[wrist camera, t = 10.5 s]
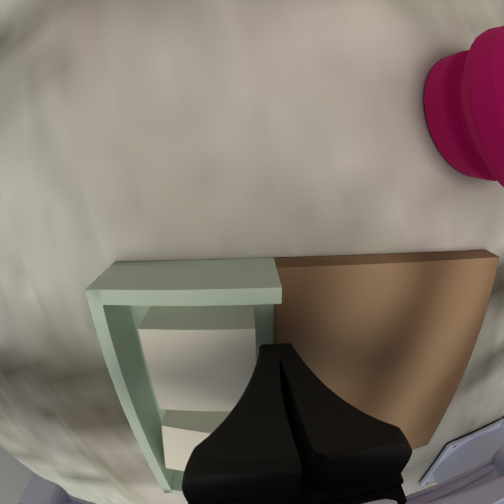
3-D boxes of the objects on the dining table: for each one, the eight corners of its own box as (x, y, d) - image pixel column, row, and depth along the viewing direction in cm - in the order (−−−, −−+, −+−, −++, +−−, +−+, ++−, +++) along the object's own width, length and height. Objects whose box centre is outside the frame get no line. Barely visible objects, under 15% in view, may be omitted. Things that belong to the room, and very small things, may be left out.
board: (486, 250, 13) (499, 256, 12) (421, 434, 18) (427, 444, 16) (273, 257, 13) (276, 267, 12) (269, 461, 17) (270, 474, 16)
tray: (273, 257, 13) (281, 287, 10) (269, 461, 17) (272, 495, 14) (114, 261, 13) (85, 289, 10) (170, 459, 17) (164, 492, 14)
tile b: (253, 303, 13) (255, 329, 11) (255, 382, 14) (257, 410, 12) (150, 305, 13) (137, 328, 11) (167, 381, 14) (159, 408, 12)
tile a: (251, 409, 15) (252, 437, 13) (241, 452, 16) (241, 477, 14) (168, 398, 15) (161, 425, 13) (170, 443, 16) (165, 467, 14)
